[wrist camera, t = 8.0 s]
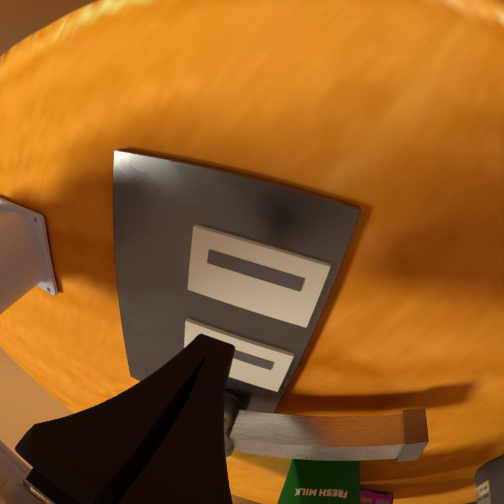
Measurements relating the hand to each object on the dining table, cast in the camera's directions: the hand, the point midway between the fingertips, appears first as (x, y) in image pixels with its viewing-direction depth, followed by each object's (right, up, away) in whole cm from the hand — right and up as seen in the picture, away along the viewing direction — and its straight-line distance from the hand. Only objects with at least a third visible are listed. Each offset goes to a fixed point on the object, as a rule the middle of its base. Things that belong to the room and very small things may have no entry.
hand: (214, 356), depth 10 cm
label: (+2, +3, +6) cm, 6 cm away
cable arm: (+5, -8, +9) cm, 13 cm away
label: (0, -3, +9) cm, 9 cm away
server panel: (-2, -1, +8) cm, 8 cm away
